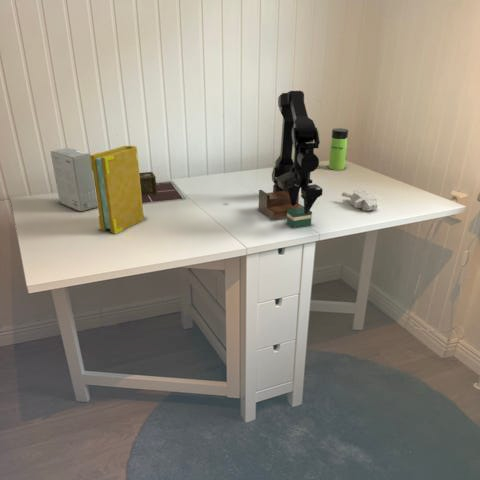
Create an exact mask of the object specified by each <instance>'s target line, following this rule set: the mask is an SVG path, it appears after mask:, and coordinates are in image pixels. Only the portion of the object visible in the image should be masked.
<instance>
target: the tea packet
mask: <svg viewBox="0 0 480 480" xmlns="http://www.w3.org/2000/svg"><path fill="white" fill-rule="evenodd" d="M312 218H313V211H311V210H310V211H309V212H308V214H305V213H304V208H297V209H290V210H287V218H286V224H287V225H288V226H289V227H291V228H292V229H297V228H303V227H310V226H312Z"/></svg>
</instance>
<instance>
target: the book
mask: <svg viewBox="0 0 480 480" xmlns="http://www.w3.org/2000/svg"><path fill="white" fill-rule="evenodd" d="M138 155H139V154H138V147H137V146H136V145H123V146H118V147H116V148H112V149H108V150H105V151H101V152H96V153H93V154H90V162H91V168H92V172H93V178H94V185H95V192H96V198H97V206H98V207H97V209H98V221H99V228H100V231H103V232H106V231H108V230H110V234H113V235H115V234H118V233H120V232H123V231H124V230H126V229H127V228H129V227H132V226H133V225H136V224H139V223H141V222H143V221H144V220H145V215H144V205H143V204H144V203H142V194H141V184H140V175H139V173H140V165H139V156H138Z"/></svg>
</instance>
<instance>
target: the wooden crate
mask: <svg viewBox="0 0 480 480" xmlns="http://www.w3.org/2000/svg"><path fill="white" fill-rule="evenodd" d="M139 175H140V184H141V194H142V197H144V196H154V195H157V194H158V189H157V183H158V182H157V179H156V177H157V176H156V175H155V174H154V172H153V171H146V172H139Z"/></svg>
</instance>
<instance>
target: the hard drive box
mask: <svg viewBox="0 0 480 480" xmlns="http://www.w3.org/2000/svg"><path fill="white" fill-rule="evenodd" d="M90 155H91V153H89V152H85V151H81V150H77V149H74V148H70V147H65V148H58V149H54V150H53V149H52V150H50V157H51V162H52V168H53V173H54V178H55V183H56V184H55V185H56V189H57V195H58V199H59V203H60V204H62V205H64V206H67V207H68V208H72V209H73V210H75V211H78V212H85V211H87V210H91V209H95V208H98V202H97V196H96V189H95V182H94V175H93V171H92V168H91V162H90Z"/></svg>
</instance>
